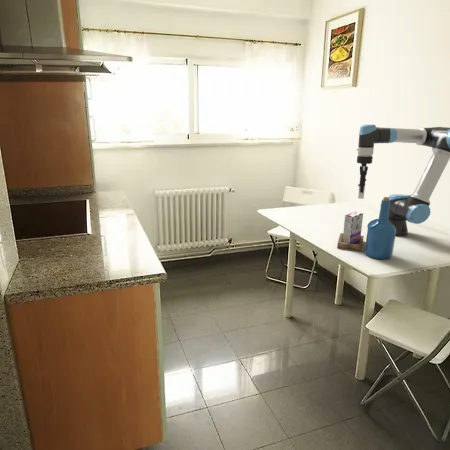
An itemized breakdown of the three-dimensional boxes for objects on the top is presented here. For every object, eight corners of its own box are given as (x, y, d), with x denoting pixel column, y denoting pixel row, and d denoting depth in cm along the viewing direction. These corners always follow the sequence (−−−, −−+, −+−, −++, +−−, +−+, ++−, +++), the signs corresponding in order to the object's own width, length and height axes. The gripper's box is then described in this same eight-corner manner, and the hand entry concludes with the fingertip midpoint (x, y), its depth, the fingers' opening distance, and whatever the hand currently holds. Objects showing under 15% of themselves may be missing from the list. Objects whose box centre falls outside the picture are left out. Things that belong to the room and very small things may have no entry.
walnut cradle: (363, 240, 214) (363, 235, 213) (362, 251, 197) (362, 246, 197) (339, 238, 218) (340, 233, 217) (337, 248, 202) (337, 242, 201)
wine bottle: (386, 251, 199) (395, 194, 190) (396, 260, 186) (406, 200, 178) (359, 250, 199) (367, 194, 191) (368, 259, 187) (376, 200, 178)
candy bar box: (351, 239, 212) (355, 211, 208) (360, 241, 209) (364, 213, 204) (341, 244, 205) (344, 214, 200) (349, 246, 202) (353, 216, 197)
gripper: (357, 152, 209) (354, 190, 216) (356, 158, 187) (352, 200, 193) (372, 152, 207) (368, 191, 213) (373, 158, 185) (368, 201, 191)
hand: (361, 195), depth 203 cm, fingers open, 13 cm apart
